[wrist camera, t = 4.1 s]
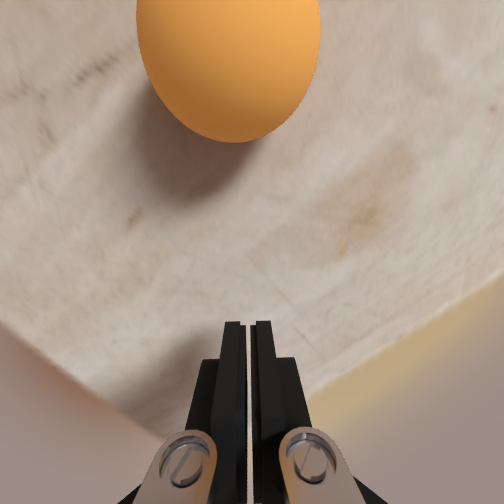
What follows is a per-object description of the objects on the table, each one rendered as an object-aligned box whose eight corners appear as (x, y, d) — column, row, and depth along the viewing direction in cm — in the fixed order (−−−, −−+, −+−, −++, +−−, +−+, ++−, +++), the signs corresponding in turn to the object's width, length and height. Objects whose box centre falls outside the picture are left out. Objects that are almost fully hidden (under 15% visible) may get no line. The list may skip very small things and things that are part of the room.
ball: (175, 149, 11) (118, 133, 6) (160, -4, 9) (65, -200, 4) (297, 147, 11) (339, 129, 6) (302, -5, 9) (365, -196, 4)
